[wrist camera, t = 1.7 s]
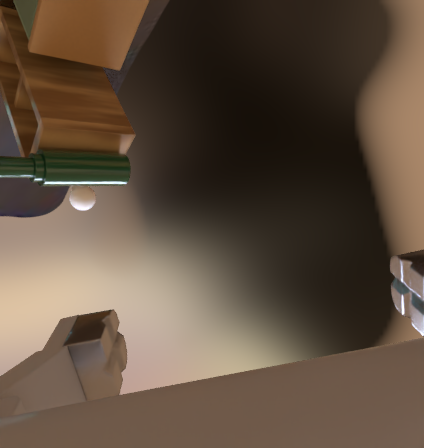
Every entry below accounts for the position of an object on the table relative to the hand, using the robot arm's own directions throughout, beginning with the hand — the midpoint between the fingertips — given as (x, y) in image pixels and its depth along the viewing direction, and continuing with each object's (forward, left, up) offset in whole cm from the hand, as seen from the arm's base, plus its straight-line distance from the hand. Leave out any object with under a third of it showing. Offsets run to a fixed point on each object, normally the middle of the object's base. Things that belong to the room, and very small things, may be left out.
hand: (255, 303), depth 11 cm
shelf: (+24, +21, -57) cm, 65 cm away
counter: (+10, +17, -57) cm, 61 cm away
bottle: (+25, +15, -33) cm, 45 cm away
